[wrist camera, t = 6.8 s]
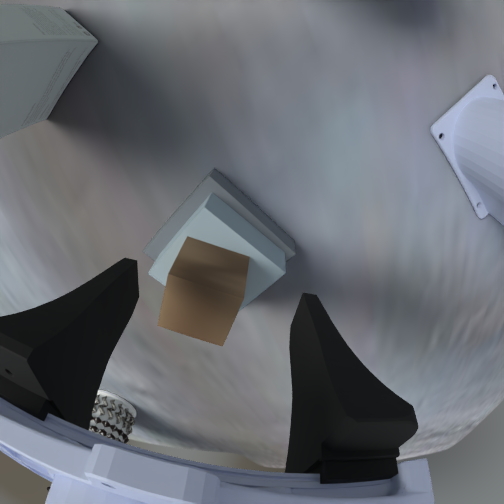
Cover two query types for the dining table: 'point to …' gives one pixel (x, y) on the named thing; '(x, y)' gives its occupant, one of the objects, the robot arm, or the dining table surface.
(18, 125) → the skincare box
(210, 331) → the walnut cube
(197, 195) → the base slab
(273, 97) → the dining table surface
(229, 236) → the top slab
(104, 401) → the decorative candle
